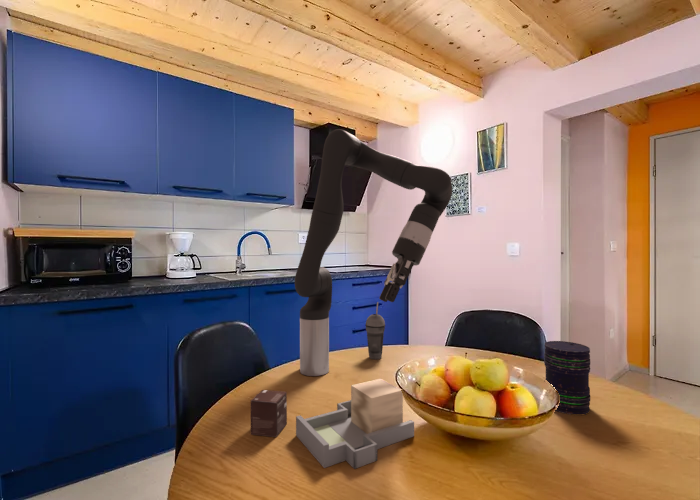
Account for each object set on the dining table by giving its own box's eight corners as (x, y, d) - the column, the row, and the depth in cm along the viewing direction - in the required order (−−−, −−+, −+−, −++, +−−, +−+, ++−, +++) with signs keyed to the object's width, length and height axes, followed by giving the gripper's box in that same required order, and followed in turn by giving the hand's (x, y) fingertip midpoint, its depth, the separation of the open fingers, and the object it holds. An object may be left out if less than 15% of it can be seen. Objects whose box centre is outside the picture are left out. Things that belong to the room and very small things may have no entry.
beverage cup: (375, 353, 134) (375, 299, 134) (389, 357, 128) (389, 301, 128) (361, 357, 129) (360, 301, 129) (375, 361, 123) (375, 304, 123)
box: (276, 438, 74) (276, 402, 74) (249, 435, 75) (249, 400, 75) (287, 424, 80) (287, 391, 80) (262, 421, 81) (262, 389, 81)
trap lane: (290, 429, 78) (290, 410, 78) (370, 407, 88) (370, 390, 88) (331, 477, 61) (331, 454, 61) (424, 443, 72) (424, 423, 72)
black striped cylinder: (579, 419, 82) (580, 354, 82) (536, 404, 90) (536, 344, 90) (597, 407, 88) (597, 347, 88) (555, 394, 96) (555, 338, 96)
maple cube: (351, 421, 79) (351, 385, 79) (380, 412, 83) (380, 378, 83) (371, 437, 72) (371, 398, 72) (402, 427, 76) (402, 390, 76)
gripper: (393, 241, 98) (368, 294, 96) (406, 231, 84) (376, 293, 82) (417, 253, 98) (393, 307, 96) (434, 245, 84) (406, 308, 82)
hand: (385, 300), depth 89 cm, fingers open, 8 cm apart
